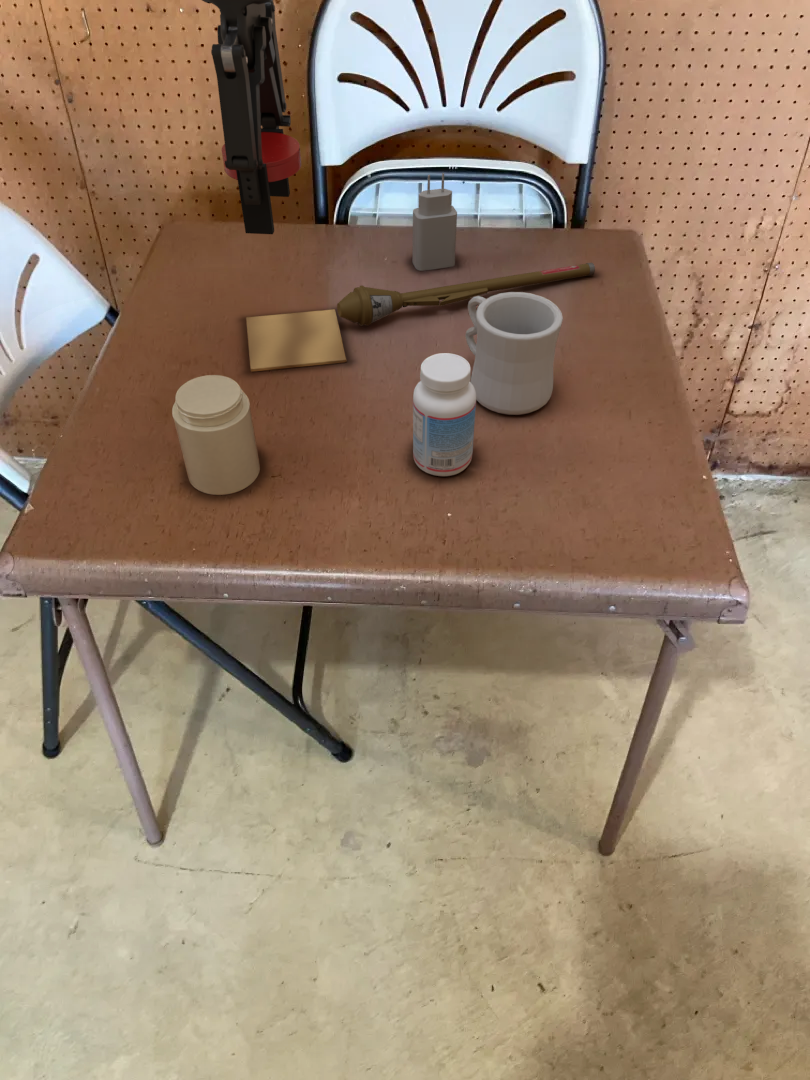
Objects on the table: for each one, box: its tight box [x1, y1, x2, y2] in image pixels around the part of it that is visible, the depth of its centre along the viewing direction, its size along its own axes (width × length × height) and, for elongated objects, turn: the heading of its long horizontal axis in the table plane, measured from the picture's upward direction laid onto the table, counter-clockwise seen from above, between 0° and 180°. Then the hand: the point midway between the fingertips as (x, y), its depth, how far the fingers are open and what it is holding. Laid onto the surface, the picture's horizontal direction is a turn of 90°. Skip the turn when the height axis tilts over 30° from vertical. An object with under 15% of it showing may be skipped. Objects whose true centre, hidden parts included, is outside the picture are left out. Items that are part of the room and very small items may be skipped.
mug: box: [464, 291, 564, 416], centre depth 91 cm, size 12×9×10 cm
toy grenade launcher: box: [336, 262, 596, 327], centre depth 106 cm, size 5×35×5 cm
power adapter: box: [411, 172, 458, 272], centre depth 109 cm, size 3×5×12 cm, turn 105°
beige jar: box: [171, 374, 261, 496], centre depth 81 cm, size 7×7×10 cm
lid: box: [221, 132, 302, 182], centre depth 81 cm, size 8×7×2 cm
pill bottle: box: [412, 352, 477, 477], centre depth 82 cm, size 6×6×11 cm
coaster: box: [245, 308, 347, 373], centre depth 100 cm, size 11×11×1 cm
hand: (268, 212), depth 85 cm, fingers closed on lid, 7 cm apart
